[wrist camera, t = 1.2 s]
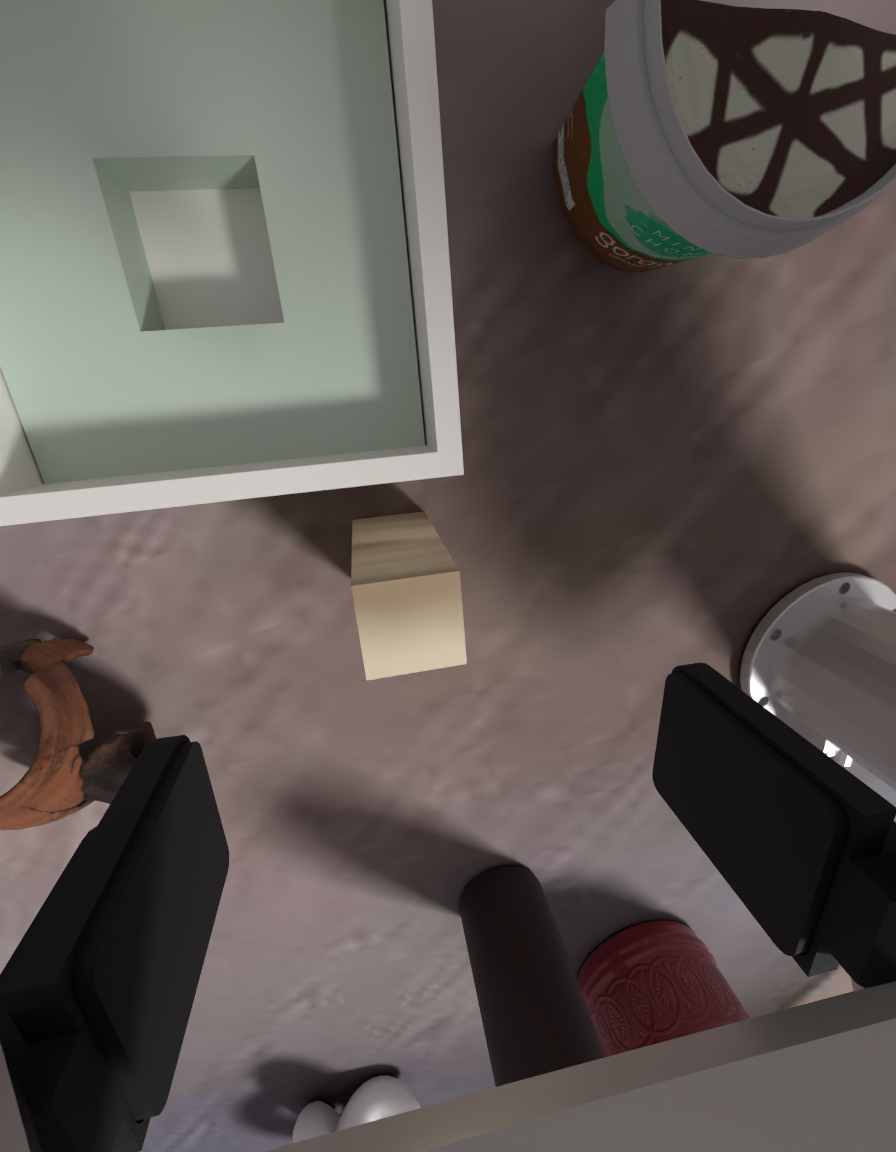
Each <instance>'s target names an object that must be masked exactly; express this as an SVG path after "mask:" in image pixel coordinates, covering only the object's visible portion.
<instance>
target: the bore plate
mask: <svg viewBox="0 0 896 1152" xmlns="http://www.w3.org/2000/svg"><path fill="white" fill-rule="evenodd" d="M248 188H260V190H261V196H262V201H263V207H264V213H265V218H266V224H267V229H268V235H269V240H270V246H271V251H272V257H273V263H274V268H275V274H276V279H277V285H278V290H279V296H280V301H281V307H282V313H283V318H284V323H269V324H253V325H237V326H221V327H206V328H190V329H174V330H165V327H164V323H163V319H162V315H161V311H160V307H159V304H158V300H157V296H156V292H155V288H154V284H153V281H152V277H151V273H150V269H149V265H148V261H147V258H146V254H145V250H144V246H143V242H142V238H141V234H140V231H139V227H138V223H137V219H136V215H135V211H134V208H133V204H132V200H131V196H130V192H132V191H171V190H209V189H248ZM0 368H1V370H2V373H3V376H4V378H5V381H6V383H7V386H8V389H9V391H10V394H11V397H12V399H13V402H14V405H15V407H16V410H17V412H18V415H19V418H20V420H21V423H22V426H23V428H24V431H25V433H26V436H27V439H28V441H29V444H30V447H31V449H32V452H33V454H34V457H35V460H36V462H37V465H38V468H39V470H40V473H41V476H42V478H43V481H44V483H45V484H48V483H58V482H68V481H78V480H88V479H97V478H107V477H117V476H127V475H137V474H147V473H157V472H166V471H176V470H186V469H196V468H206V467H216V466H226V465H236V464H245V463H255V462H265V461H275V460H285V459H295V458H305V457H314V456H324V455H334V454H344V453H354V452H364V451H374V450H384V449H393V448H403V447H413V446H423V445H425V439H424V428H423V417H422V407H421V396H420V385H419V375H418V364H417V353H416V343H415V332H414V321H413V311H412V300H411V289H410V279H409V268H408V257H407V247H406V236H405V225H404V215H403V204H402V193H401V183H400V172H399V161H398V151H397V140H396V129H395V119H394V108H393V97H392V87H391V76H390V65H389V55H388V44H387V34H386V23H385V12H384V2H383V0H0Z"/></svg>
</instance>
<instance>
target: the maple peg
mask: <svg viewBox="0 0 896 1152" xmlns="http://www.w3.org/2000/svg"><path fill="white" fill-rule="evenodd" d="M351 588H352V594H353V600H354V607H355V613H356V619H357V625H358V631H359V637H360V643H361V649H362V655H363V661H364V667H365V673H366V680H373V679H379V678H385V677H391V676H397V675H403V674H409V673H415V672H421V671H427V670H433V669H439V668H445V667H451V666H457V665H463V664H467V661H466V648H465V635H464V621H463V608H462V595H461V582H460V571H459V569H458V567H457V566H456V564H455V562H454V561H453V559H452V557H451V556H450V554H449V552H448V551H447V549H446V547H445V546H444V544H443V542H442V540H441V539H440V537H439V535H438V534H437V532H436V530H435V529H434V527H433V525H432V524H431V522H430V520H429V519H428V517H427V515H426V514H425V512H415V513H407V514H399V515H390V516H382V517H374V518H365V519H357V520H352V566H351Z"/></svg>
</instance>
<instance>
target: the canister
mask: <svg viewBox="0 0 896 1152" xmlns="http://www.w3.org/2000/svg"><path fill="white" fill-rule="evenodd" d="M577 982H578V984H579V987H580V989H581V992H582V995H583V997H584V1000H585V1003H586V1005H587V1008H588V1010H589V1013H590V1016H591V1018H592V1021H593V1024H594V1026H595V1029H596V1032H597V1034H598V1037H599V1039H600V1042H601V1045H602V1047H603V1050H604V1053H605V1055H606V1057H609V1056H612V1055H616V1054H620V1053H623V1052H627V1051H631V1050H635V1049H638V1048H642V1047H646V1046H649V1045H653V1044H657V1043H661V1042H664V1041H668V1040H672V1039H675V1038H679V1037H683V1036H687V1035H690V1034H694V1033H698V1032H701V1031H705V1030H709V1029H713V1028H717V1027H720V1026H724V1025H728V1024H732V1023H736V1022H739V1021H743V1020H747V1019H750V1017H749V1016H748V1014H747V1013H746V1011H745V1009H744V1008H743V1006H742V1005H741V1003H740V1002H739V1000H738V998H737V997H736V995H735V994H734V992H733V991H732V989H731V987H730V986H729V984H728V983H727V981H726V979H725V978H724V976H723V975H722V973H721V972H720V970H719V968H718V967H717V963H716V961H715V959H714V957H713V955H712V954H711V953H710V952H709V949H708V948H707V946H706V945H705V944H704V943H703V941H701V940H700V939H699V938H698V937H697V935H696V934H695V933H694V931H693V930H692V929H690V928H689V927H688V926H686V925H684V924H681V923H678V922H673V921H652V922H646V923H642V924H639V925H636V926H633V927H630V928H628V929H625V930H623V931H621V932H619V933H617V934H616V935H614V936H612V937H611V938H609V939H608V940H606V941H605V942H604V943H602V944H601V945H600V946H599V947H598V948H597V949H595V950H594V951H593V953H592V954H591V955H590V956H589V957H588V958H587V960H586V961H585V963H584V964H583V966H582V968H581V970H580V972H579V975H578V979H577Z"/></svg>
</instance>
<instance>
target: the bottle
mask: <svg viewBox="0 0 896 1152" xmlns="http://www.w3.org/2000/svg"><path fill="white" fill-rule="evenodd" d="M459 909H460V914H461V919H462V924H463V929H464V933H465V938H466V943H467V948H468V953H469V958H470V963H471V968H472V973H473V978H474V982H475V987H476V992H477V997H478V1002H479V1007H480V1012H481V1017H482V1022H483V1026H484V1031H485V1036H486V1041H487V1046H488V1051H489V1056H490V1061H491V1066H492V1071H493V1075H494V1080H495V1085H496V1087H498V1086H502V1085H505V1084H509V1083H513V1082H516V1081H520V1080H524V1079H528V1078H531V1077H535V1076H539V1075H542V1074H546V1073H550V1072H553V1071H557V1070H561V1069H564V1068H568V1067H572V1066H575V1065H579V1064H583V1063H586V1062H590V1061H594V1060H598V1059H601V1058H605V1057H606V1055H605V1053H604V1050H603V1047H602V1045H601V1042H600V1039H599V1037H598V1034H597V1032H596V1029H595V1026H594V1024H593V1021H592V1018H591V1016H590V1013H589V1010H588V1008H587V1005H586V1003H585V1000H584V997H583V995H582V992H581V989H580V987H579V984H578V982H577V979H576V976H575V974H574V971H573V968H572V966H571V963H570V961H569V958H568V955H567V953H566V950H565V947H564V945H563V942H562V940H561V937H560V934H559V932H558V929H557V926H556V924H555V921H554V918H553V916H552V913H551V911H550V908H549V905H548V903H547V900H546V897H545V895H544V892H543V890H542V887H541V884H540V882H539V881H538V879H537V878H536V877H535V875H534V874H533V873H532V872H530V871H528V870H527V869H525V868H521V867H516V866H500V867H497V868H493V869H490V870H487V871H486V872H484V873H482V874H480V875H478V876H477V877H476V878H475V879H474V880H473V881H471V882H470V883H469V884H468V885H467V887H466V888H465V890H464V892H463V893H462V895H461V899H460V905H459Z"/></svg>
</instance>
